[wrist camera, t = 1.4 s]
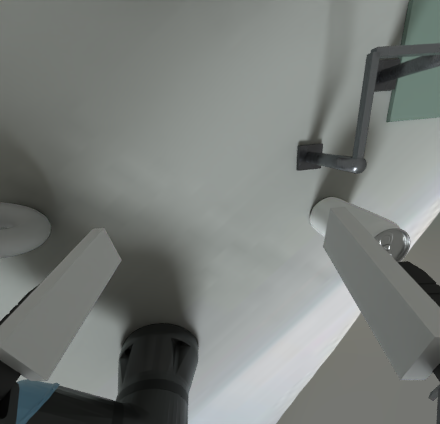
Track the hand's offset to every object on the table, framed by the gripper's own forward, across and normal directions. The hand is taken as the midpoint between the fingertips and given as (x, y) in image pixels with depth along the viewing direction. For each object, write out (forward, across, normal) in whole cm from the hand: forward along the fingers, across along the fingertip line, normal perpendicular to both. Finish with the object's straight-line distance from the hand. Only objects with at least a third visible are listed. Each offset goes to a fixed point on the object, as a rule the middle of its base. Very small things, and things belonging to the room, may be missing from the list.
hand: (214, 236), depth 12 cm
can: (+21, -16, +14) cm, 30 cm away
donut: (+14, +29, +4) cm, 32 cm away
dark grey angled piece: (+24, -17, -1) cm, 29 cm away
